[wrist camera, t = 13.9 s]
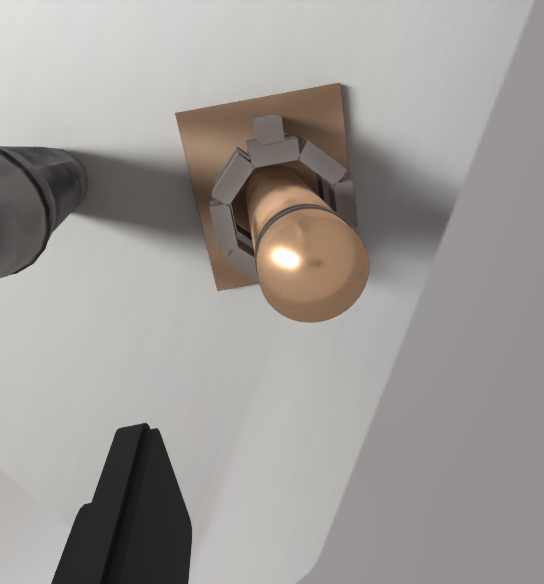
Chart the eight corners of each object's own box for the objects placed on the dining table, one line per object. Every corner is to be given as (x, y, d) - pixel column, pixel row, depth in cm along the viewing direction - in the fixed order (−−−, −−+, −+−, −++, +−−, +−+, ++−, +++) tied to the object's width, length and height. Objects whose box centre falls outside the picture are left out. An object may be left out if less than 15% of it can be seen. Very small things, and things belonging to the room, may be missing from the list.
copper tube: (239, 170, 34) (247, 228, 17) (299, 158, 34) (364, 205, 17) (250, 228, 35) (267, 332, 19) (307, 217, 36) (374, 312, 19)
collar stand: (176, 113, 33) (160, 115, 25) (337, 83, 33) (370, 76, 25) (217, 286, 38) (214, 333, 30) (355, 260, 38) (386, 299, 31)
